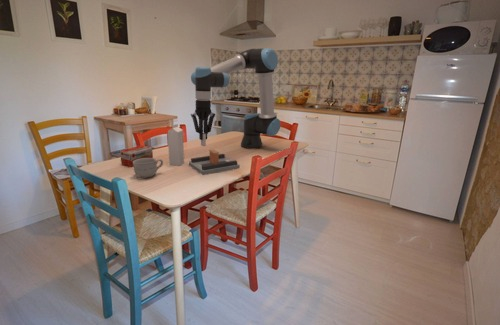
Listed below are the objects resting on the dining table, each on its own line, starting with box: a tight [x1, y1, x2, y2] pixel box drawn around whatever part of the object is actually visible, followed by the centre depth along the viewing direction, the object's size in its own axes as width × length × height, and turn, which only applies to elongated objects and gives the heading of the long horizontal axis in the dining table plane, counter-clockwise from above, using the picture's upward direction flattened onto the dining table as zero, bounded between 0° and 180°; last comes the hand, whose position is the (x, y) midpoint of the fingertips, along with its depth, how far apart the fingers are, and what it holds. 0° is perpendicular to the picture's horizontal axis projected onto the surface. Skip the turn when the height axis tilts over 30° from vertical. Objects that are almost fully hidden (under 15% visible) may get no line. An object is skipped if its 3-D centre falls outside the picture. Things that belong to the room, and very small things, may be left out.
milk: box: [167, 123, 185, 167], centre depth 154 cm, size 6×6×22 cm
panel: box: [188, 156, 241, 176], centre depth 155 cm, size 22×18×2 cm
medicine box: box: [119, 145, 154, 168], centre depth 156 cm, size 15×8×8 cm, turn 150°
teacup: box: [133, 157, 164, 179], centre depth 138 cm, size 14×11×8 cm
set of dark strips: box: [190, 153, 238, 170], centre depth 154 cm, size 20×16×2 cm
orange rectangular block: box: [209, 148, 220, 164], centre depth 154 cm, size 3×6×7 cm, turn 34°
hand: (203, 145), depth 148 cm, fingers closed
